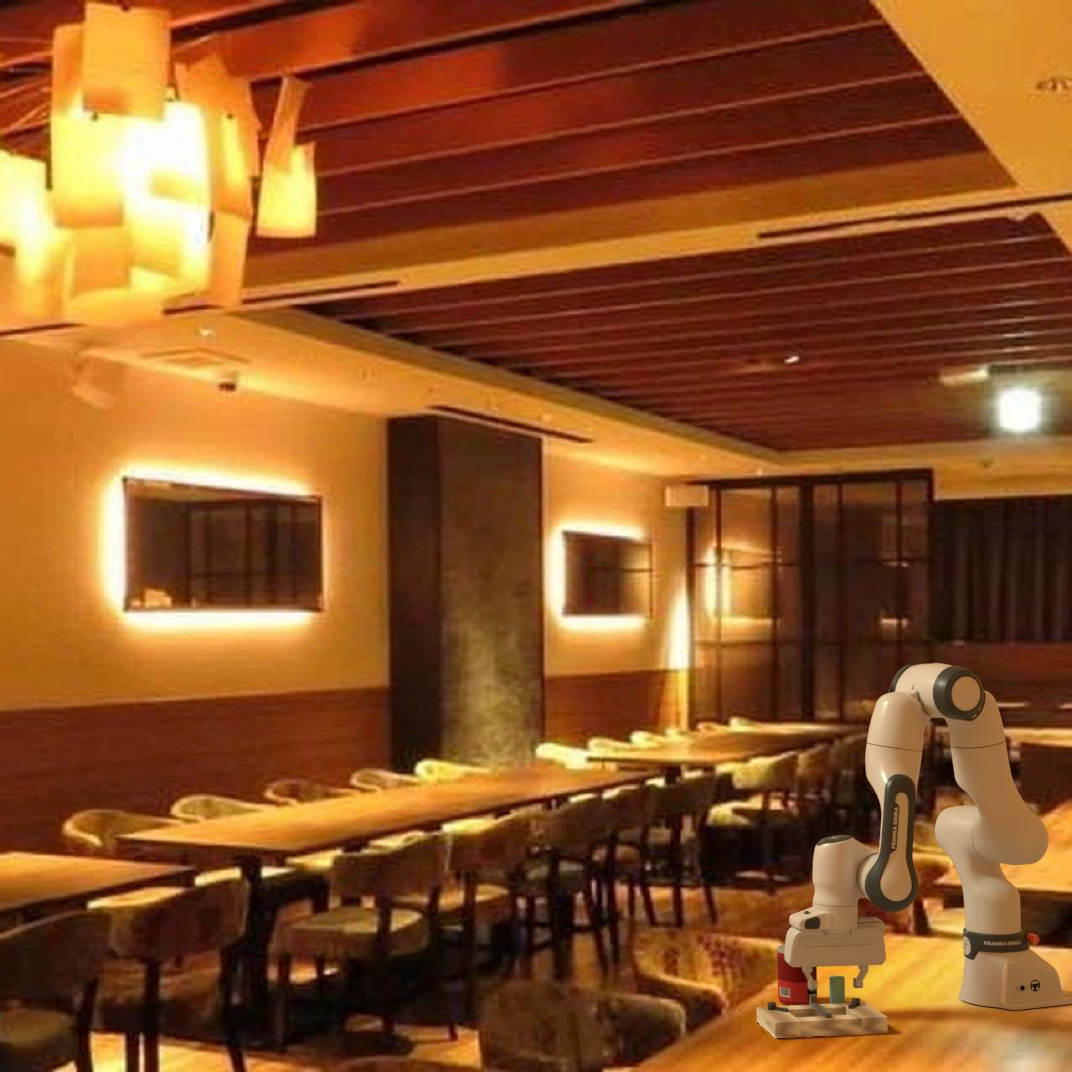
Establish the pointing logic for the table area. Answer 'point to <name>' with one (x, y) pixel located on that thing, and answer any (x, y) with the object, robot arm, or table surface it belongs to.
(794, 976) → the canned food
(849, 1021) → the shelf
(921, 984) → the table surface
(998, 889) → the robot arm
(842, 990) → the pale green rounded block
